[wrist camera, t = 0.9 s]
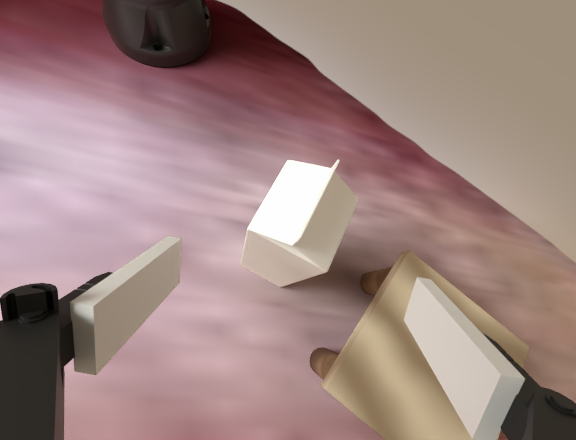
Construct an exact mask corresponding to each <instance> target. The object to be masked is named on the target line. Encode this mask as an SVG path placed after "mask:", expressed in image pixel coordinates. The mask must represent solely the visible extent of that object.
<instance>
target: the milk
mask: <svg viewBox="0 0 576 440" xmlns="http://www.w3.org/2000/svg"><path fill="white" fill-rule="evenodd" d="M339 161H340V160H339V159H338V160H337V161H336V163H335V164H334V165H333V167H332V168H328V167H323V166H318V165H313V164H308V163H303V162H298V161H293V160H287V162H286V163H285V165H284V167H283V168H282V170H281V172H280V174H279V175H278V177H277V179H276V180H275V182H274V184H273V185H272V187H271V189H270V191H269V192H268V194H267V196H266V197H265V199H264V201H263V202H262V204H261V206H260V208H259V209H258V211H257V213H256V214H255V216H254V218H253V219H252V221H251V223H250V225H249V226H248V228H247V233H246V238H245V243H244V248H243V253H242V258H241V264H240V266H241V267H243V268H245V269H247V270H249V271H251V272H252V273H254V274H256V275H258V276H260V277H262V278H264V279H265V280H267V281H269V282H271V283H273V284H275V285H277V286H278V287H283V286H286V285H289V284H292V283H295V282H298V281H302V280H305V279H308V278H311V277H314V276H317V275H320V274H323V273H326V272H328V270H329V267H330V265H331V263H332V261H333V258H334V256H335V254H336V252H337V249H338V247H339V245H340V242H341V240H342V238H343V236H344V233H345V231H346V229H347V227H348V224H349V222H350V220H351V218H352V215H353V213H354V211H355V209H356V206H357V204H358V202H359V198H358V197H357V196H356V195H355V194H354V192H353V191H352V190H351V189H350V188H349V187H348V186H347V185H346V183H345V182H344V181H343V180H342V179H341V178H340V177H339V176H338V174H337V173H336V172H335V169H336V167H337V165H338V163H339Z"/></svg>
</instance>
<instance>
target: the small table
mask: <svg viewBox="0 0 576 440" xmlns="http://www.w3.org/2000/svg"><path fill="white" fill-rule="evenodd" d="M417 277H420V278H426V279H431V280H432V281H433V282H434V283H435V284H436V285H437V286H438V287H439V288H440V289H441V291H442V292H443V293H444V294H445V295H446V296H447V297H448V298H449V299H450V300H451V301H452V302H453V303H454V304H455V305H456V306H457V307H458V308H459V309H460V311H461V312H462V313H463V314H464V315H465V316H466V317H467V318H468V319H469V320H470V321H471V322H472V323H473V324H474V325H475V326H476V327H477V328H478V329H479V330H480V332H481V333H483V334H486V335H487V336H488V337H490V338H491V339H493V340H494V341H496V342H497V343H498V344H499V345H500V346H501V347H502V348H503V349H504V350H505V351H506V352H507V354H509V355H510V356H511V357H512V358H513V359H514V362H517V363H518V364H519V365H520V366H521V367H522V368H523V366H524V363H525V360H526V358H527V355H528V352H529V349H530V347H529V346H527V345H526V344H525V343H524V342H522V341H521V340H520V339H519V338H518V337H516V336H515V335H514V334H513V333H511V332H510V331H509V330H508V329H506V328H505V327H504V326H503V325H501V324H500V323H499V322H498V321H496V320H495V319H494V318H493V317H491V316H490V315H489V314H488V313H487V312H485V311H484V310H483V309H482V308H480V307H479V306H478V305H477V304H475V303H474V302H473V301H472V300H470V299H469V298H468V297H467V296H465V295H464V294H463V293H462V292H461V291H459V290H458V289H457V288H456V287H454V286H453V285H452V284H451V283H449V282H448V281H447V280H446V279H444V278H443V277H442V276H441V275H439V274H438V273H437V272H436V271H435V270H433V269H432V268H431V267H430V266H428V265H427V264H426V263H425V262H423V261H422V260H421V259H420V258H418V257H417V256H416V255H415V254H413V253H412V252H411V251H410V250H409V251H405V252H402V253H401V254H400V256H399V257H398V259H397V261H396V262H395V264H394V265H393V267H390V268H386V269H381V270H377V271H372V272H368V273H365V274H364V275H363V276H362V277H361V280H360V284H361V288H362V289H363V291H364V292H365V293H367V294H370V295H373V294H376V295H375V297H374V298H373V300H372V301H371V303H370V305H369V306H368V308H367V310H366V311H365V313H364V315H363V316H362V318H361V319H360V321H359V323H358V324H357V326H356V328H355V329H354V331H353V333H352V334H351V336H350V337H349V339H348V341H347V342H346V344H345V346H344V347H343V349H342V351H341V352H340V354H339V355H337V354H335V353H333V352H331V351H329V350H327V349H325V348H318V349H316V350H314V351H313V353H312V354H311V357H310V366H311V368H312V370H313V371H314V372H315V373H316V374H318V375H319V376H320V377H321V378H322V379H323V382H322V383H321V386H322V387H323V388H324V389H326V390H327V391H328V392H329V393H330V394H331V395H333V396H334V397H335V398H336V399H337V400H339V401H340V402H341V403H342V404H343V405H345V406H346V407H347V408H348V409H349V410H350V411H352V412H353V413H354V414H355V415H356V416H358V417H359V418H360V419H361V420H362V421H364V422H365V423H366V424H367V425H368V426H369V427H371V428H372V429H373V430H374V431H375V432H377V433H378V434H379V435H380V436H381V437H383V438H384V439H385V440H475V439H472V438H471V436H470V435H469V433H468V431H467V429H466V428H465V426H464V424H463V422H462V421H461V419H460V417H459V416H458V414H457V412H456V410H455V409H454V407H453V405H452V403H451V402H450V400H449V398H448V396H447V395H446V393H445V391H444V389H443V388H442V386H441V384H440V382H439V381H438V379H437V377H436V375H435V374H434V372H433V370H432V369H431V367H430V365H429V363H428V362H427V360H426V358H425V356H424V355H423V353H422V351H421V349H420V348H419V346H418V344H417V342H416V341H415V339H414V337H413V335H412V334H411V332H410V330H409V328H408V327H407V325H406V323H405V322H404V317H405V314H406V310H407V307H408V304H409V301H410V298H411V294H412V291H413V288H414V285H415V281H416V278H417ZM500 432H501V430H500ZM500 432H499V434H498V436H497V438H496V440H498V438H499V435H500Z"/></svg>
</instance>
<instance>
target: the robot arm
mask: <svg viewBox="0 0 576 440" xmlns="http://www.w3.org/2000/svg"><path fill="white" fill-rule="evenodd" d="M102 5H103V17H104V21H105V24H106V27H107V29H108V31H109V33H110V35H111V38H112V40H113V41H114V43H115V44H116V46H117V47H118V48H119V49H120V50H121V51H122V52H123V53H125V54H126V55H127V56H129V57H131V58H132V59H134V60H136V61H139V62H141V63H144V64H147V65H152V66H158V67H174V66H180V65H184V64H187V63H190V62H192V61H194V60H196V59H197V58H199V57H200V56H201V55H202V54H203V53H204V52H205V51H206V50H207V48H208V47H209V45H210V42H211V38H212V27H211V18H210V13H209V10H208V8H207V6H206V3H205V0H102ZM181 242H182V238H177V237H171V236H167V237H166V238H164V239H163V240H161V241H160V242H158V243H157V244H155V245H154V246H153V247H151V248H150V249H148V250H147V251H145V252H144V253H142V254H141V255H139V256H138V257H136V258H135V259H133V260H132V261H130V262H129V263H127V264H126V265H124V266H123V267H121V268H120V269H118V270H117V271H115V272H114V273H111V272H107V273H104V274H102V275H99V276H96V277H94V278H93V279H91V280H89V281H88V282H86V284H83V285H82V286H80V287H78V288H77V290H76V289H75V290H74V291H72V292H71V293H69V294H67V295H66V296H64V297H63V298H61V299H60V300H58V291H57V288H56V286H54V285H51V284H45V283H38V284H29V285H24V286H20V287H17V288H14V289H12V290H10V291H8V292H6V293H4V294H3V295H2V296H1V298H0V305H1V311H2V318H3V321H0V440H64V366H65V365H66V364H67V363H68V362H69V361H71V360H72V359H73V358H74V369H75V372H81V373H87V374H93V375H97V374H98V373H99V371H100V370H101V369H102V368H103V367H104V366H105V365H106V364H107V363H108V361H109V360H110V359H111V358H112V357H113V356H114V355H115V354H116V353H117V351H118V350H119V349H120V348H121V347H122V346H123V345H124V344H125V343H126V341H127V340H128V339H129V338H130V337H131V336H132V335H133V334H134V333H135V331H136V330H137V329H138V328H139V327H140V326H141V325H142V324H143V323H144V321H145V320H146V319H147V318H148V317H149V316H150V315H151V314H152V313H153V311H154V310H155V309H156V308H157V307H158V306H159V305H160V304H161V302H162V301H163V300H164V299H165V298H166V297H167V296H168V295H169V294H170V292H171V291H172V290H173V289H174V288H175V287H176V286H177V285H178V284H179V280H180V261H181ZM404 322H405V323H406V325H407V327H408V328H409V330H410V332H411V334H412V335H413V337H414V339H415V341H416V342H417V344H418V346H419V348H420V349H421V351H422V353H423V355H424V356H425V358H426V360H427V362H428V363H429V365H430V367H431V369H432V370H433V372H434V374H435V375H436V377H437V379H438V381H439V382H440V384H441V386H442V388H443V389H444V391H445V393H446V395H447V396H448V398H449V400H450V402H451V403H452V405H453V407H454V409H455V410H456V412H457V414H458V416H459V417H460V419H461V421H462V422H463V424H464V426H465V428H466V429H467V431H468V433H469V435H470V436H471V438H472V439H475V440H496V438H497V436H498V434H499V432H500V430H502V431H503V432H504V434H505V435H506V437H507V438H508V440H576V404H575V403H574V402H573V401H572V400H570V399H568V398H567V397H565V396H563V395H562V394H560V393H558V392H555V391H553V390H551V389H547V388H543V387H540V386H539V385H538V384H537V383H536V382H535V381H534V380H533V379H532V378H531V377H530V376H529V375H528V374H527V373H526V371H525V370H524V369H523V368H522V367H521V366H520V365H519V364H518V363H517V362H514V359H513V358H512V357H511V356H510V355H509V354H507V352H506V351H505V350H504V349H503V348H502V347H501V346H500V345H499V344H498V343H497V342H496V341H494V340H493V339H491V338H490V337H488V336H487V335H486V334H483V333H481V332H480V330H479V329H478V328H477V327H476V326H475V325H474V324H473V323H472V322H471V321H470V320H469V319H468V318H467V317H466V316H465V315H464V314H463V313H462V312H461V311H460V309H459V308H458V307H457V306H456V305H455V304H454V303H453V302H452V301H451V300H450V299H449V298H448V297H447V296H446V295H445V294H444V293H443V292H442V291H441V289H440V288H439V287H438V286H437V285H436V284H435V283H434V282H433V281H432V280H431V279H426V278H420V277H417V278H416V281H415V285H414V288H413V291H412V294H411V298H410V301H409V304H408V307H407V310H406V314H405V317H404Z"/></svg>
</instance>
